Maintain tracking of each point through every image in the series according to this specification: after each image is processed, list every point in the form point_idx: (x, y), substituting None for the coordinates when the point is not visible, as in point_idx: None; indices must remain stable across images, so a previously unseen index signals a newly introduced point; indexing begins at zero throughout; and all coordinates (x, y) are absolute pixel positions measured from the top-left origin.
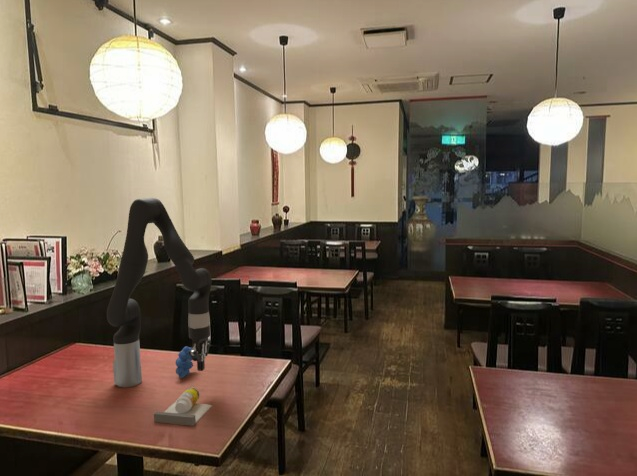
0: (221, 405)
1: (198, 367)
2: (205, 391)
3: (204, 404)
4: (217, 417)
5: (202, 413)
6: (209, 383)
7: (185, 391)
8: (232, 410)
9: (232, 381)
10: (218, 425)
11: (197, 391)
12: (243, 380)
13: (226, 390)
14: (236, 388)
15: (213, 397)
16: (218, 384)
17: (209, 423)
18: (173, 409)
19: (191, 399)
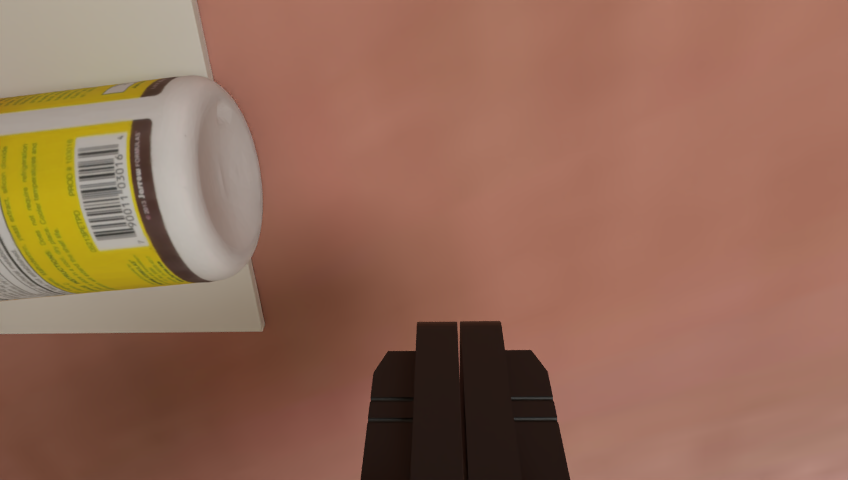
0: (302, 382)
1: (384, 404)
2: (548, 134)
3: (244, 272)
4: (125, 420)
5: (97, 324)
6: (781, 77)
7: (42, 202)
8: (259, 466)
9: (808, 297)
10: (40, 459)
11: (202, 282)
12: (819, 376)
13: (589, 319)
14: (636, 378)
15: (425, 270)
16: (741, 194)
17: (26, 406)
18: (1, 11)
19: (15, 299)
